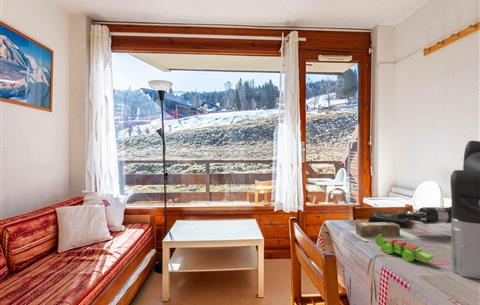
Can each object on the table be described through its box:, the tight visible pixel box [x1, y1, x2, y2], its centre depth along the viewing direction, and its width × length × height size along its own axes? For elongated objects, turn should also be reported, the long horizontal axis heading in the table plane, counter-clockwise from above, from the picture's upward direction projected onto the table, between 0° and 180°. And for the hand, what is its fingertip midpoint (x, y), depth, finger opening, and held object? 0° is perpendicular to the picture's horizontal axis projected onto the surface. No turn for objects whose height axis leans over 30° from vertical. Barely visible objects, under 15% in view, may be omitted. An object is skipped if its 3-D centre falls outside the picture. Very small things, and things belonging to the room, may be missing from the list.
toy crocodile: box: [374, 234, 434, 263], centre depth 99 cm, size 20×7×6 cm, turn 27°
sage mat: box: [349, 229, 423, 242], centre depth 121 cm, size 26×14×1 cm, turn 93°
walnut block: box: [355, 222, 401, 237], centre depth 121 cm, size 5×5×18 cm
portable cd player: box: [367, 210, 411, 229], centre depth 143 cm, size 16×17×4 cm
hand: (397, 216), depth 122 cm, fingers closed
